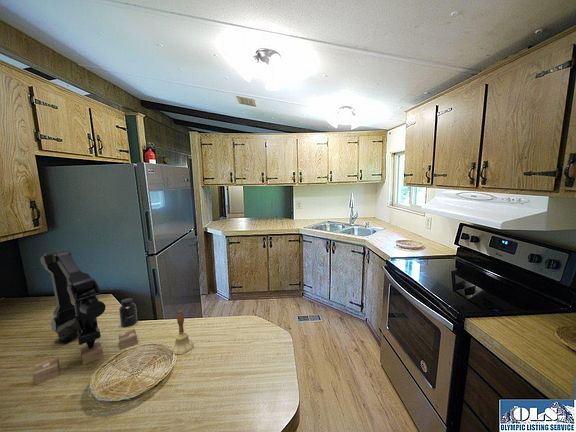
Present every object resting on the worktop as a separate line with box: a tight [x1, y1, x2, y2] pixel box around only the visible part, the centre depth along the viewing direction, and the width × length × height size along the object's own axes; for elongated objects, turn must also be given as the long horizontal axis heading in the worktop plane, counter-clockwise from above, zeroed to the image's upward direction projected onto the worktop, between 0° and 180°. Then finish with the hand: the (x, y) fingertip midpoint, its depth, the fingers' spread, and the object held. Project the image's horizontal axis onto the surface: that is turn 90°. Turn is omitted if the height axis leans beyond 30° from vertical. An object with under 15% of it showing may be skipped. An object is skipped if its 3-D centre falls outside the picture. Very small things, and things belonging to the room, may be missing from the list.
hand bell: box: [171, 309, 194, 355], centre depth 98 cm, size 8×8×16 cm
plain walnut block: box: [79, 341, 104, 366], centre depth 95 cm, size 6×6×4 cm
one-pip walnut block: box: [32, 356, 61, 385], centre depth 87 cm, size 6×6×4 cm
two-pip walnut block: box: [118, 328, 138, 350], centre depth 103 cm, size 6×6×4 cm
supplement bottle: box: [118, 297, 138, 328], centre depth 118 cm, size 7×7×12 cm
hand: (90, 347), depth 95 cm, fingers closed
